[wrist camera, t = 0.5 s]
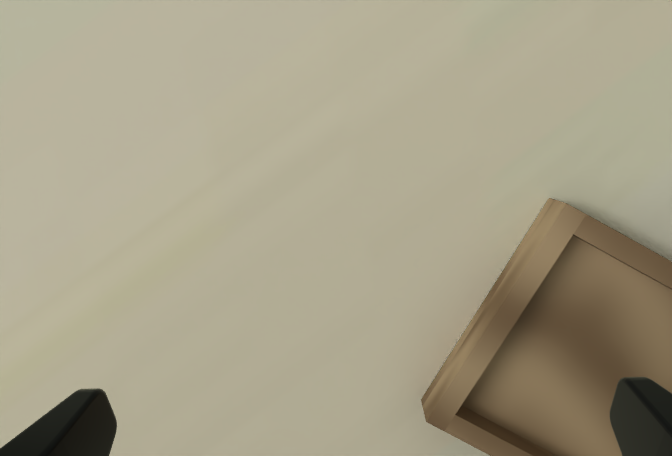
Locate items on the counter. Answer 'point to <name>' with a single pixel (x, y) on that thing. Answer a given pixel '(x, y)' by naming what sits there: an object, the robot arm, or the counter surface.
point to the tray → (557, 342)
